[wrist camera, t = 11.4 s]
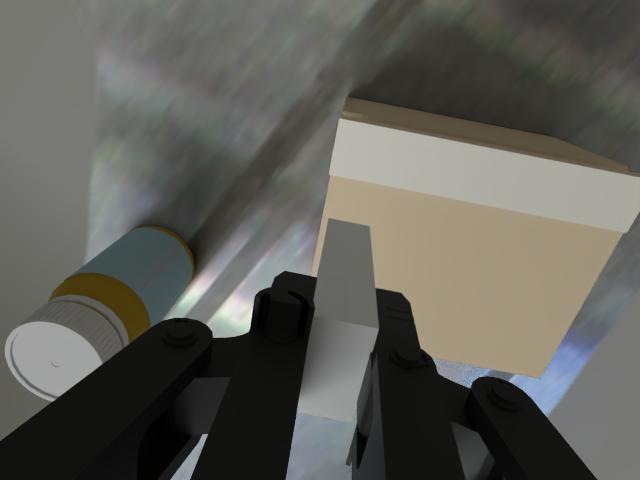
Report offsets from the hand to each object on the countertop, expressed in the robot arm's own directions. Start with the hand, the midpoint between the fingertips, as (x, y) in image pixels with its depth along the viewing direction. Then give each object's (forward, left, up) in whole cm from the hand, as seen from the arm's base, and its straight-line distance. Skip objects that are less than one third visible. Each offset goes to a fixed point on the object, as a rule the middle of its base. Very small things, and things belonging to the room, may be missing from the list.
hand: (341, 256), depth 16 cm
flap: (-3, -7, -10) cm, 12 cm away
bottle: (-13, +15, -21) cm, 29 cm away
